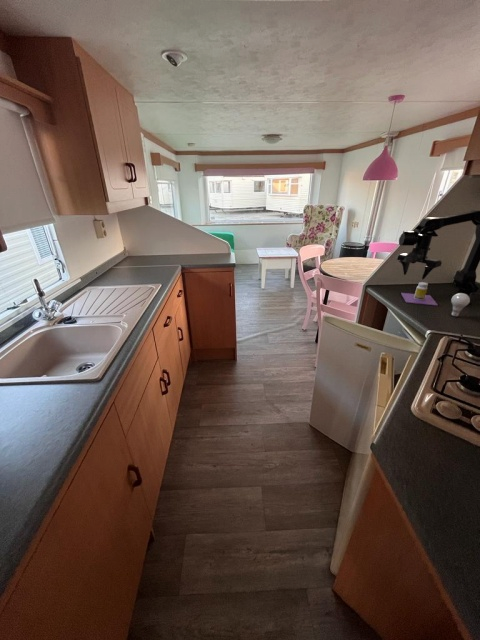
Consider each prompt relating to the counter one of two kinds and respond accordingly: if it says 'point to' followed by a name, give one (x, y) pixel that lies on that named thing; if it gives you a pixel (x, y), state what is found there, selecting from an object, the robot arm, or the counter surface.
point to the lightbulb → (459, 303)
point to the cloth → (410, 299)
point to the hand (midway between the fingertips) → (413, 276)
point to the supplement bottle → (421, 291)
